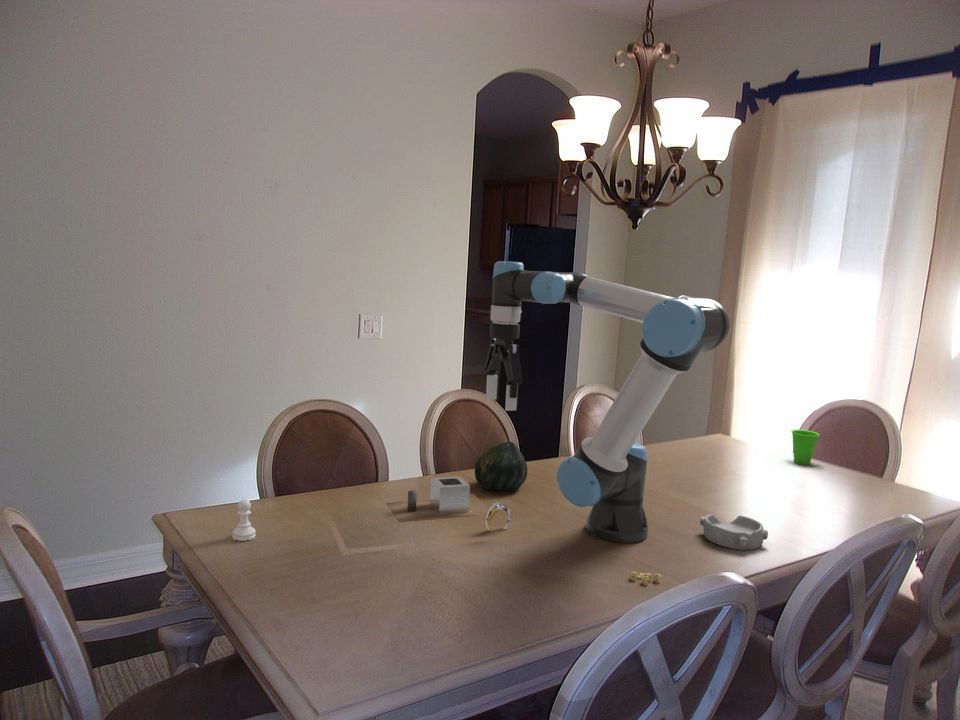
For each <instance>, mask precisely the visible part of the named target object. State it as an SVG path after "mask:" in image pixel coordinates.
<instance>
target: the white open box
mask: <svg viewBox="0 0 960 720" xmlns="http://www.w3.org/2000/svg"><path fill="white" fill-rule="evenodd" d="M470 493H471V485H470V484H469V483H468V482H467V481H466V480H465V479H464V478H463V477H461V476H444V477H443V476H442V477H431V479H430V495H429V496H430V497H429V498H430V499H429V500H430V504H431V505H432V507H433V508H434V509H435V510H436V511H437V513H438V514H449V513H462V512H469V509H470V495H471V494H470Z"/></svg>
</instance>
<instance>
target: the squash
mask: <svg viewBox="0 0 960 720" xmlns="http://www.w3.org/2000/svg"><path fill="white" fill-rule="evenodd" d="M474 477H475V480H476V482H477V483H478V485H479V486H481V487H483V488H485V489H487V490H488V491H490V490H491V491H492V490H494V489H495V490H496V491H500V490H503V491H508V492H515V491H518V490H519V489H520V488H521V486H522V485H523V484H524V483H525V481H526V479H527V477H528V465H527V462H526V460H525V456H524V455H523V454H522V451H520V449H519V448H518V446H517V444H516V443H515V442H513V441H506V442H505V441H504V442H501V443H498V444H495V445H493V446H492V447H488V448H487V449H486V450H484V451H483V452H482V453H481V454H480V456H479V457H478V458H477V460H476V462H475V467H474Z"/></svg>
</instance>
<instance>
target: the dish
mask: <svg viewBox="0 0 960 720" xmlns="http://www.w3.org/2000/svg"><path fill="white" fill-rule="evenodd" d="M699 523H700V526H702V529H703V534H704V537H705V538H706V539H707V540H708V541H710V542H712V543H714V544H716V545H718V546H722V547H725V548H730V549H732V550H739V551H749V550H754V549H758V548H760V547H762V545H763V542H764V540H767V539H768V537H769V532H768V530H767V529H764V525H763V524H762V523H761V522H760V521H758V520H756V519H754V518H750V517H749V516H748V517H747V516H743V515H737V517H736V518H735V519H733V520H732V521H730V522H721V521H720V520H719V519H718V518H716V517H715V515H714V514H713V513H710V514H708V515H706V516H700V519H699Z"/></svg>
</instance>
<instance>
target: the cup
mask: <svg viewBox="0 0 960 720" xmlns="http://www.w3.org/2000/svg"><path fill="white" fill-rule="evenodd" d="M790 432H791V434H792V446H793V447H792V448H793V461H794V463H795V464H797V465H800V466H801V465H803V466H808V465H810V464H811V461H812V459H813V454H814V451H815V448H816V444H817V441H818V437H820V433H818V432H815V431H812V430H807V429H806V430H805V429H792V430H791V431H790Z"/></svg>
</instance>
